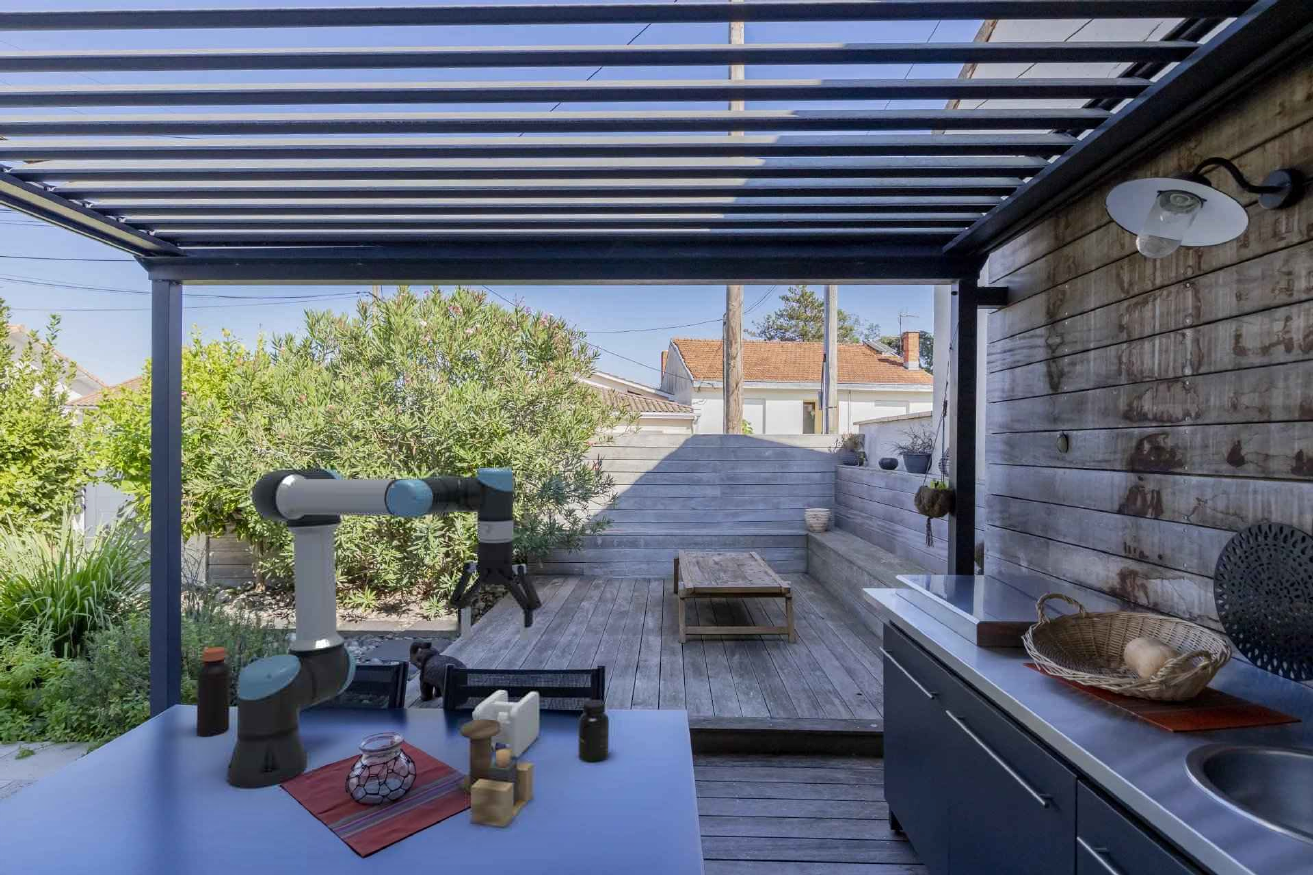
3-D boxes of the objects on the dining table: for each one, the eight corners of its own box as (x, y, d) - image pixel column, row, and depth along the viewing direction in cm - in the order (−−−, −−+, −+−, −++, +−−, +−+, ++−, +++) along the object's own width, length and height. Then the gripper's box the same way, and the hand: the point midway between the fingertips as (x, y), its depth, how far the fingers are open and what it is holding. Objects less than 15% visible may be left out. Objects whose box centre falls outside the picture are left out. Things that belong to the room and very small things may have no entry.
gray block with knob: (488, 809, 137) (488, 754, 137) (497, 799, 141) (498, 746, 141) (507, 812, 136) (508, 756, 136) (516, 802, 140) (517, 748, 140)
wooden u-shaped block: (470, 822, 133) (471, 786, 133) (500, 792, 145) (500, 759, 145) (505, 827, 132) (505, 791, 132) (532, 796, 143) (532, 763, 143)
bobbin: (453, 791, 145) (453, 731, 146) (472, 774, 153) (472, 717, 153) (489, 796, 143) (489, 735, 144) (507, 778, 151) (507, 721, 151)
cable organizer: (514, 764, 158) (514, 711, 158) (470, 760, 160) (470, 707, 160) (540, 737, 173) (540, 689, 173) (499, 734, 175) (499, 686, 175)
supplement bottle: (572, 759, 160) (573, 705, 161) (587, 748, 167) (587, 696, 167) (600, 764, 158) (600, 710, 158) (613, 752, 164) (614, 700, 164)
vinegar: (198, 728, 178) (200, 647, 178) (230, 724, 180) (231, 644, 181) (194, 738, 171) (195, 654, 172) (227, 734, 174) (228, 651, 175)
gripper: (433, 540, 152) (432, 641, 152) (542, 544, 146) (542, 649, 146) (451, 536, 159) (451, 632, 159) (556, 540, 153) (556, 639, 153)
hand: (494, 640), depth 152 cm, fingers open, 13 cm apart
